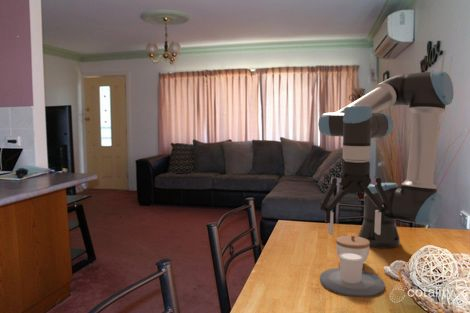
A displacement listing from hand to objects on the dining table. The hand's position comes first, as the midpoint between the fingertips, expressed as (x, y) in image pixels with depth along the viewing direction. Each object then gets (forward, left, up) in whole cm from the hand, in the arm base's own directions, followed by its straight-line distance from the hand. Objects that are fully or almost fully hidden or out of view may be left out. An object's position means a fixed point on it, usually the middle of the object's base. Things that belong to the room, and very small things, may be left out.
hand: (353, 233), depth 114 cm
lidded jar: (-5, -16, -15) cm, 22 cm away
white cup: (+1, 0, -14) cm, 14 cm away
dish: (0, 0, -15) cm, 15 cm away
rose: (-17, -6, -15) cm, 23 cm away
